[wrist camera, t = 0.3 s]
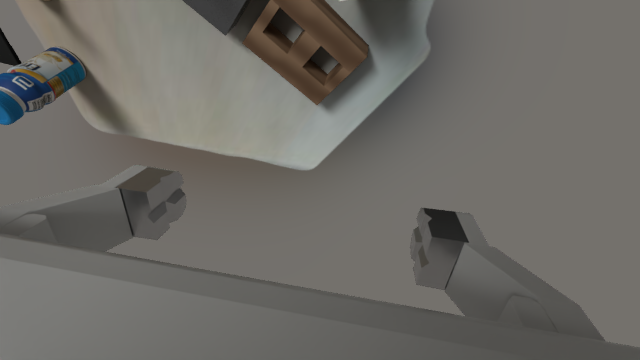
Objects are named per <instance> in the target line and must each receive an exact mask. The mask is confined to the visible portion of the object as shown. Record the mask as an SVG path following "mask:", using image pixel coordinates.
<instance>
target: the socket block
mask: <svg viewBox="0 0 640 360" xmlns="http://www.w3.org/2000/svg"><path fill="white" fill-rule="evenodd" d="M183 1H184V2H185V3H186V4H188V5H189V6H190V7H191V8H193V9H194V10H195V11H196V12H197V13H199V14H200V15H201V16H202V17H204V18H205V19H206V20H207V21H208V22H210V23H211V24H212V25H213V26H214V27H216V28H217V29H218V30H219V31H221V32H222V33H223V34H224V35H225V36H226V35H227V34H228V32H229V31H230V30H231V29H232V28H233V27H234V26H235V25H236V23H237V22H238V20H239V18H240V17H241V15H242V13H243V12H244V10H245V8H246V7H247V5H248V3H249V1H250V0H183Z"/></svg>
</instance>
